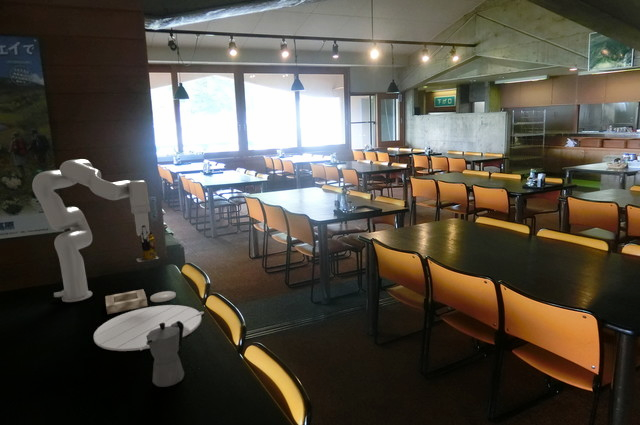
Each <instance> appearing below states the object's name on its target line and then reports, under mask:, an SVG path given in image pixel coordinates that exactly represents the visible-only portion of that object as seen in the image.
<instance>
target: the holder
mask: <svg viewBox="0 0 640 425" xmlns="http://www.w3.org/2000/svg"><path fill="white" fill-rule="evenodd" d="M104 298H105V306H106V308H105V309H106V312H107V315H110V314H114V313H119V312H121V313H122V312H126V311H130V310H131V311H132V310H134V309H135V310H137V309H142V308H147V307H148V306H149V305H148V300H147V299H148V298H147V296H146V292H145V291H144V289H143V288H142V289H138V290H132V291H126V292H122V293H115V294H111V295H106V296H105V297H104Z"/></svg>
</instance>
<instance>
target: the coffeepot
mask: <svg viewBox="0 0 640 425" xmlns="http://www.w3.org/2000/svg"><path fill="white" fill-rule="evenodd" d="M159 325H160V328H157V329H154V330H152V331H150V332H149V334H148V335H147V336H146V337H147V340H148V341H147V342H146V343H147V345H149V347H150V348H149V350H150V353H151V355H152V357H153V359H154V361H153V365H152V366H153V368H152V383H153V385H155V386H156V387H161V388H164V387H165V388H166V387H171V386H174V385H176V384H178V383H180V382H181V381H182V380H183V379H184V376H185V371H184V368H183V365H182V361H181V358H180V356H179V355H178V352H179V350H180V349H179V348H180V347H182V344H183V338H184V337H183V329H184V325H183V323H181V322H180V321H177V322H176V323H173V324H172V325H171V326H167V327H165V323H160V324H159ZM178 327H179V329H178Z"/></svg>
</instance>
